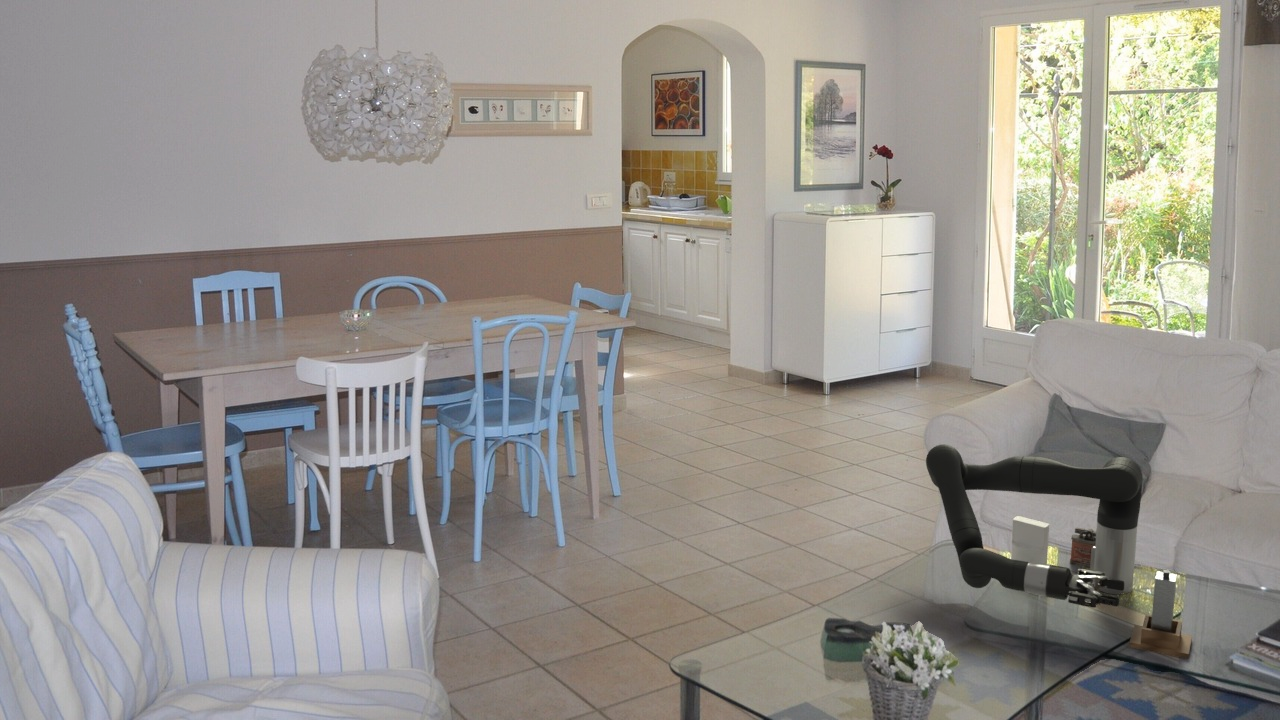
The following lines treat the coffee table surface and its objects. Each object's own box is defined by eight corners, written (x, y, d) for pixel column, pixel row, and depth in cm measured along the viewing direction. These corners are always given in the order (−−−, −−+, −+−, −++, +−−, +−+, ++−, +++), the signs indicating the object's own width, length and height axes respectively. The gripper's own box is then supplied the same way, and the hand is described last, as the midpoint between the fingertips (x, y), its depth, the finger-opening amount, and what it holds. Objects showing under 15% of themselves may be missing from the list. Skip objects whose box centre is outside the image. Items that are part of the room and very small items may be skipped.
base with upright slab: (1052, 562, 294) (1055, 520, 291) (1037, 574, 288) (1040, 531, 285) (1019, 553, 300) (1022, 512, 297) (1004, 565, 294) (1006, 522, 291)
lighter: (1103, 565, 291) (1106, 530, 289) (1101, 570, 289) (1103, 534, 286) (1071, 559, 296) (1073, 524, 293) (1068, 564, 293) (1070, 529, 290)
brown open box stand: (1129, 646, 252) (1130, 628, 251) (1134, 629, 259) (1135, 610, 258) (1188, 658, 246) (1190, 639, 245) (1191, 640, 254) (1193, 621, 252)
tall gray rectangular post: (1149, 640, 252) (1155, 573, 247) (1151, 632, 255) (1157, 566, 251) (1169, 644, 250) (1175, 576, 245) (1171, 636, 253) (1177, 569, 249)
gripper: (1042, 578, 255) (1118, 591, 247) (1053, 553, 267) (1126, 566, 259) (1040, 608, 257) (1116, 622, 249) (1051, 582, 269) (1124, 595, 261)
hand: (1121, 593), depth 254 cm, fingers open, 8 cm apart
